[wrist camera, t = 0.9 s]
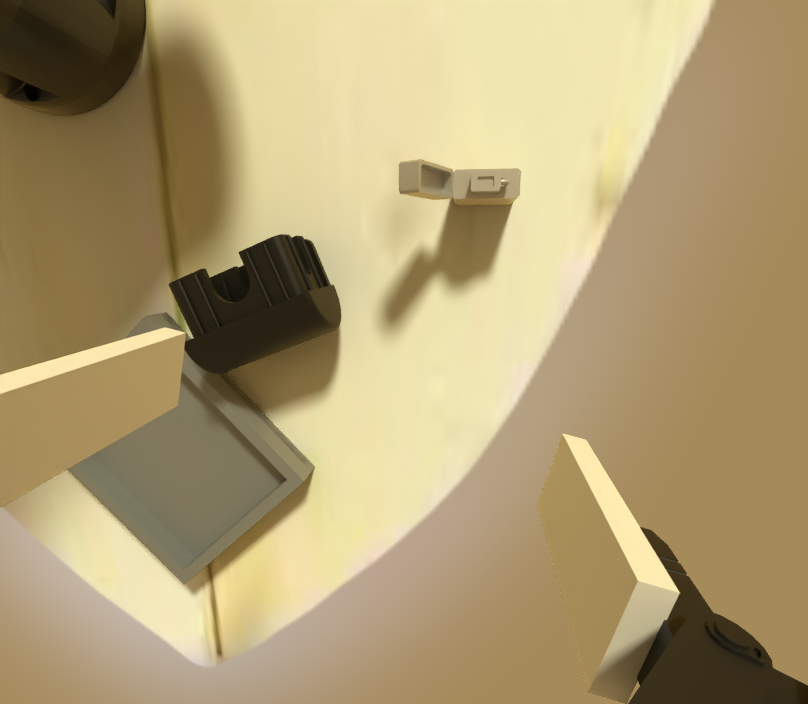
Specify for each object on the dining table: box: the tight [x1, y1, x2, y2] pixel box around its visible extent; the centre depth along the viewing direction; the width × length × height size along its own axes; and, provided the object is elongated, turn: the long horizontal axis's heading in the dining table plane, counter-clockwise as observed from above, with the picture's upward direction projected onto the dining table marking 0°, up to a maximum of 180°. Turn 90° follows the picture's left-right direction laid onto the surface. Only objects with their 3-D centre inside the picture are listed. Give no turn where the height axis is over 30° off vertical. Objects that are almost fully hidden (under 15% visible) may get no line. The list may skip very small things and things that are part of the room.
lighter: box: [399, 159, 521, 205], centre depth 29 cm, size 7×2×8 cm, turn 89°
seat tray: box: [68, 313, 314, 584], centre depth 39 cm, size 18×16×3 cm
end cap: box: [169, 235, 341, 374], centre depth 33 cm, size 10×7×7 cm
